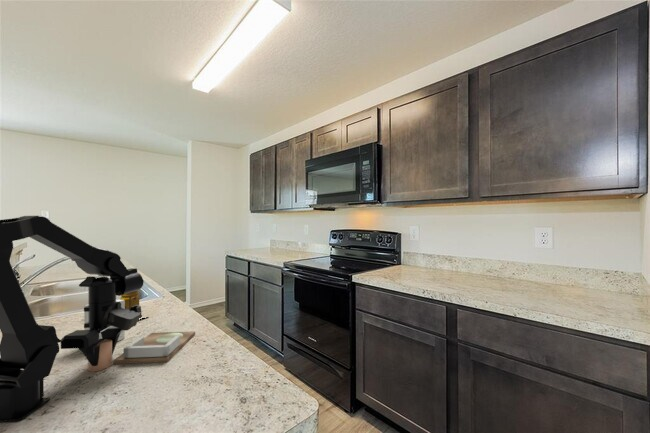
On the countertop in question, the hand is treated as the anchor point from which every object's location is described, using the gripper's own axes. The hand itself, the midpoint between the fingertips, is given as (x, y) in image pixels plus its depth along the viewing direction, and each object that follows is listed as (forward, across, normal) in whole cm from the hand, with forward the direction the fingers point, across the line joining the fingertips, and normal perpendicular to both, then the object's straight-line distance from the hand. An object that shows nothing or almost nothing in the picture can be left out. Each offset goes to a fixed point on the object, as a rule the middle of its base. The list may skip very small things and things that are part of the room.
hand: (102, 360), depth 73 cm
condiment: (+2, +35, +14) cm, 38 cm away
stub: (+2, 0, +1) cm, 2 cm away
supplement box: (+2, +15, +10) cm, 18 cm away
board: (+2, +10, -9) cm, 14 cm away
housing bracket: (0, +5, -10) cm, 11 cm away
